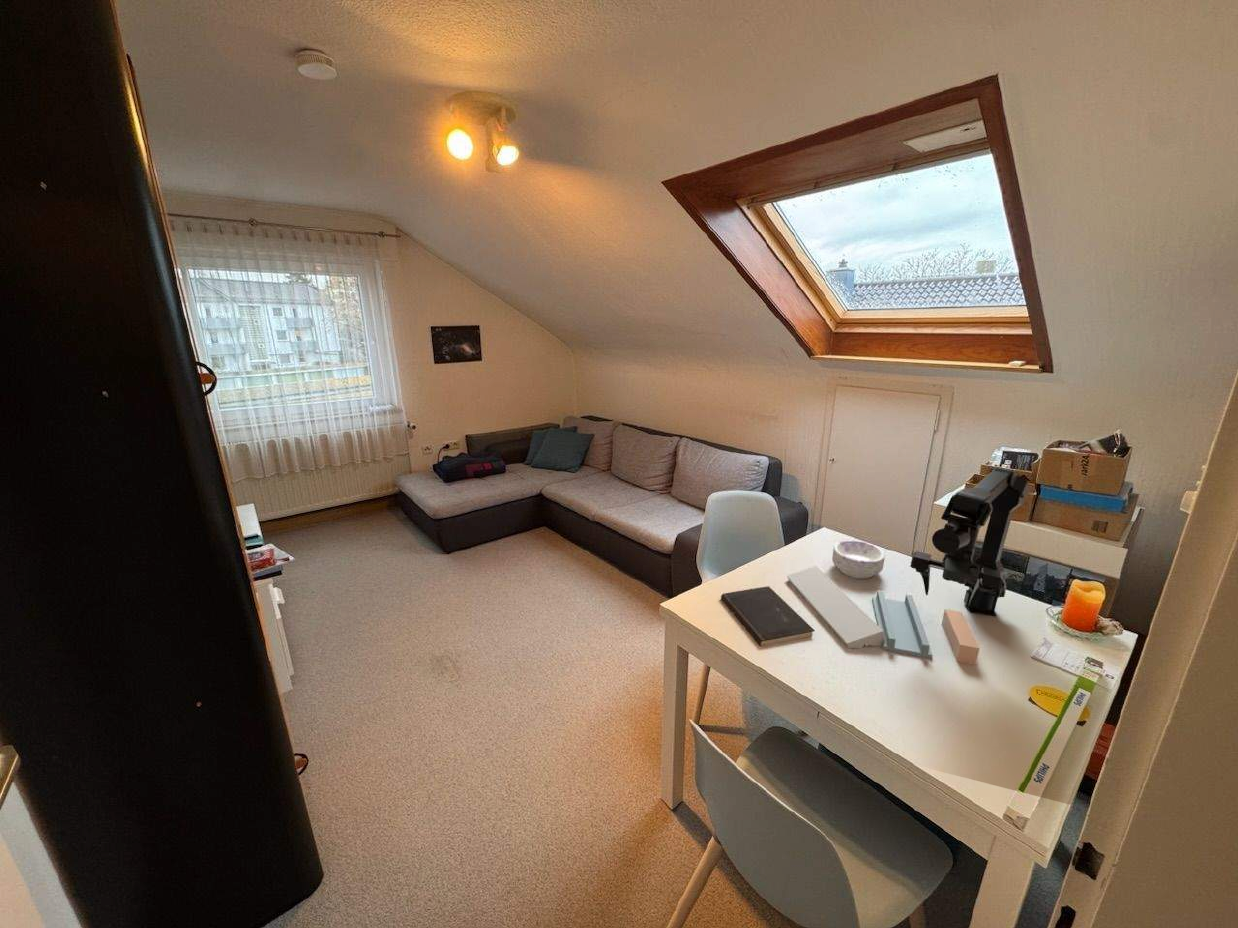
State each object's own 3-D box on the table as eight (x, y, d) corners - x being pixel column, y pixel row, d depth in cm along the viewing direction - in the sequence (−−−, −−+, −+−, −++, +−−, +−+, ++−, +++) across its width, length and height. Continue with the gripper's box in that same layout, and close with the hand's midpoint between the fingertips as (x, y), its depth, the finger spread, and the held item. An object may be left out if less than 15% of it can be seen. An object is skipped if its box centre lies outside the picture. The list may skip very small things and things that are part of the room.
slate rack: (913, 606, 146) (915, 595, 145) (931, 658, 124) (934, 646, 123) (872, 599, 149) (873, 589, 148) (882, 649, 128) (884, 637, 127)
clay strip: (958, 627, 136) (961, 611, 135) (975, 665, 122) (979, 648, 120) (941, 624, 138) (944, 608, 136) (956, 661, 123) (960, 644, 122)
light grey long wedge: (849, 658, 129) (885, 645, 129) (847, 643, 127) (883, 630, 128) (789, 588, 161) (818, 578, 162) (786, 575, 160) (815, 565, 160)
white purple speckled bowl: (842, 584, 158) (846, 561, 155) (823, 560, 172) (826, 539, 170) (891, 583, 158) (894, 560, 156) (867, 560, 172) (870, 539, 170)
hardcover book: (768, 592, 155) (768, 585, 154) (813, 637, 133) (814, 630, 133) (720, 600, 151) (721, 593, 150) (759, 648, 130) (760, 640, 129)
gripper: (914, 543, 121) (902, 601, 125) (1010, 566, 111) (994, 628, 115) (918, 529, 130) (907, 583, 134) (1008, 549, 119) (992, 607, 124)
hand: (947, 600), depth 126 cm, fingers open, 9 cm apart
